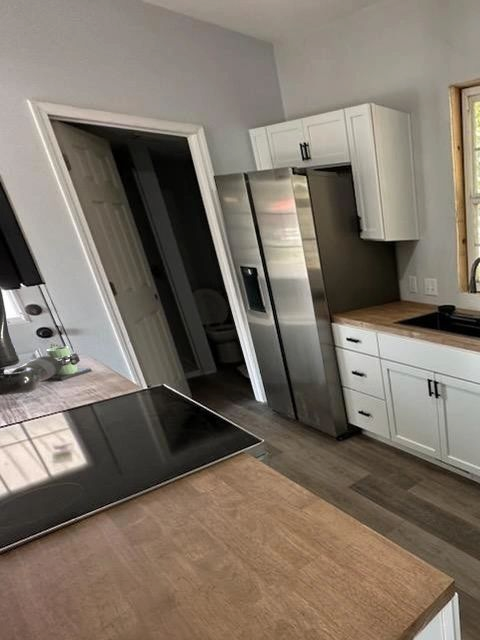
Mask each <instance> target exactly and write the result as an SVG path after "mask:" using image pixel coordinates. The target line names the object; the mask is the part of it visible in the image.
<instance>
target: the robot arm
mask: <svg viewBox="0 0 480 640" xmlns="http://www.w3.org/2000/svg"><path fill="white" fill-rule="evenodd" d="M62 358H63V359H62ZM68 358H69V360H68ZM80 362H81V360H80V357H79V355H78V353H77V352H73V353H71V355H69V356H61V357H57V358H52V357H49V355H43V356H37V357H36V358H34V359H32V360H30V361H27V362H25V363H24V364H23V365H21V366H19V367H16V368H15V369H14V370H12V372H8V373H5V370H6V368H8V367H13V366H15V365H18V364H19V363H20V357H19V355H18V352H17V350H16V347H15V345H14V343H13V339H12V337H11V333H10V328H9V324H8V317H7V310H6V306H5V299H4V295H3V291H2V287H1V286H0V397H1V396H11V395H20V394H27V393H30V392H33V391H35V390H36V389H37V387H38V385H39V384H40V383H41V382H43V381H47V380H46V379H48V378H50V377H52V376H53V375H55V374H57V373H58V372H59V371H60V370H61V367H63V366H65V365H68V364H70V363H71V364H72V365H75V364H76V365H77V364H78V363H80Z"/></svg>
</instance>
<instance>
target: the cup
mask: <svg viewBox="0 0 480 640" xmlns="http://www.w3.org/2000/svg"><path fill="white" fill-rule="evenodd" d="M46 353H47V356H49V357H52V358H57V357H61V356H69V355H71V354H72V352H71V350H70V348H69V346H61V347H56V348H51V349H50V348H48V349H46ZM62 359H63V358H62ZM68 360H69V358H68ZM77 368H78V366H77V364H75V365H72V364H71V363H70V364H68V365H65V366H63V367H61V370H60V371H59V372H58V373H57V375H67V374H72V373H75V372H78V369H77Z"/></svg>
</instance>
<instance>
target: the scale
mask: <svg viewBox="0 0 480 640" xmlns="http://www.w3.org/2000/svg"><path fill="white" fill-rule="evenodd" d="M77 369H78V372H75V373H72V374H67V375H57V374H55V375H53V376H52V377H50V378H48V379H46V380H45V381H51V382H52V381H54V382H57V381H58V382H63V381H67V380H70V379H73V378H75V377H79V376H82V375H85V374H88V373H92V372H93V370H92V368H91V367H89V368H88V367H87V368H85V367H84V368H83V367H77Z"/></svg>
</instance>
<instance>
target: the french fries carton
mask: <svg viewBox="0 0 480 640" xmlns="http://www.w3.org/2000/svg"><path fill="white" fill-rule="evenodd" d="M48 345H49V346H50V347H49V349H51V348H56V347H62V345H61V344H58V343H57V344H56V342H52V343H51V342H49V343H48Z"/></svg>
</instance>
